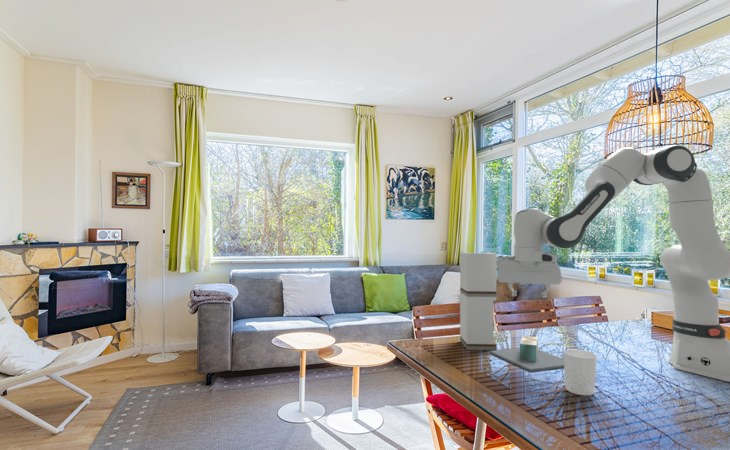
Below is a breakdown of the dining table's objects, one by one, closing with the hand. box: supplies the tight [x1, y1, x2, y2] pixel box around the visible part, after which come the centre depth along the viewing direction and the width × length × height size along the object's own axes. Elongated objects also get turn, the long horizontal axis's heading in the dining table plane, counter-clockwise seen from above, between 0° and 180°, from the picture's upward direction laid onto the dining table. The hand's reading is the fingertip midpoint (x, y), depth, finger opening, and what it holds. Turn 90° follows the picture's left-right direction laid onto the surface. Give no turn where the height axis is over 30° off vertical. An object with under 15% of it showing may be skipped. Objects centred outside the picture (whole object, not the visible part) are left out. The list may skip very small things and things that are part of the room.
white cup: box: [562, 348, 597, 396], centre depth 106 cm, size 8×8×10 cm
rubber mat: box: [489, 347, 564, 373], centre depth 133 cm, size 20×18×1 cm
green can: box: [519, 335, 539, 361], centre depth 135 cm, size 5×5×12 cm
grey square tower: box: [459, 251, 498, 351], centre depth 150 cm, size 11×11×35 cm
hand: (529, 296), depth 134 cm, fingers open, 8 cm apart
